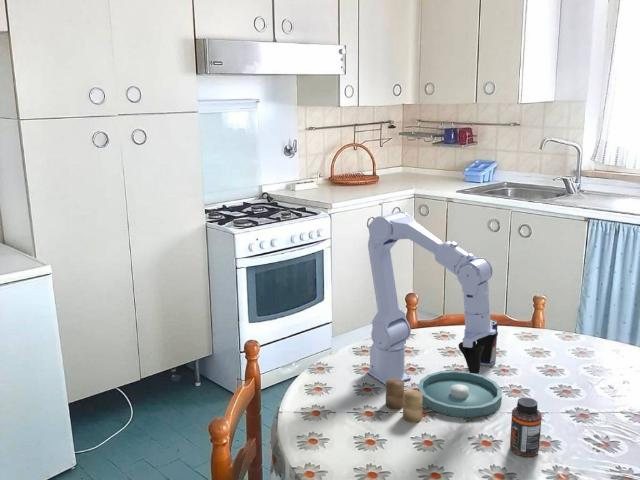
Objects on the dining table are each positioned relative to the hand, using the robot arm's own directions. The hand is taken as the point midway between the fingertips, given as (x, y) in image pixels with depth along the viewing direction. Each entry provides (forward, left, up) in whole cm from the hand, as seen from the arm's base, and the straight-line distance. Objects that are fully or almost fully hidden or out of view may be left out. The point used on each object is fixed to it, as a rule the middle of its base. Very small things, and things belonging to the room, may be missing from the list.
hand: (480, 367), depth 152 cm
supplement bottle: (+18, -4, -11) cm, 21 cm away
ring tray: (-7, 0, -11) cm, 13 cm away
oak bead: (-5, -16, -11) cm, 20 cm away
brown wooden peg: (-12, -16, -11) cm, 23 cm away
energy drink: (-19, +20, -11) cm, 30 cm away
